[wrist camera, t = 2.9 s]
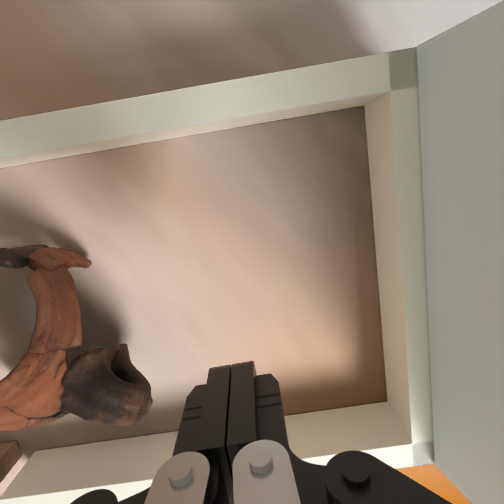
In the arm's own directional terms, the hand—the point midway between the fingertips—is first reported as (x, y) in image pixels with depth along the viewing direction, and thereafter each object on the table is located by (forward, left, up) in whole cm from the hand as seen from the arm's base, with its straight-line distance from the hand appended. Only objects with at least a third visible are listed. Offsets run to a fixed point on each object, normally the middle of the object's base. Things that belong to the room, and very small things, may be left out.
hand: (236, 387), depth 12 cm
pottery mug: (+10, +1, -9) cm, 14 cm away
